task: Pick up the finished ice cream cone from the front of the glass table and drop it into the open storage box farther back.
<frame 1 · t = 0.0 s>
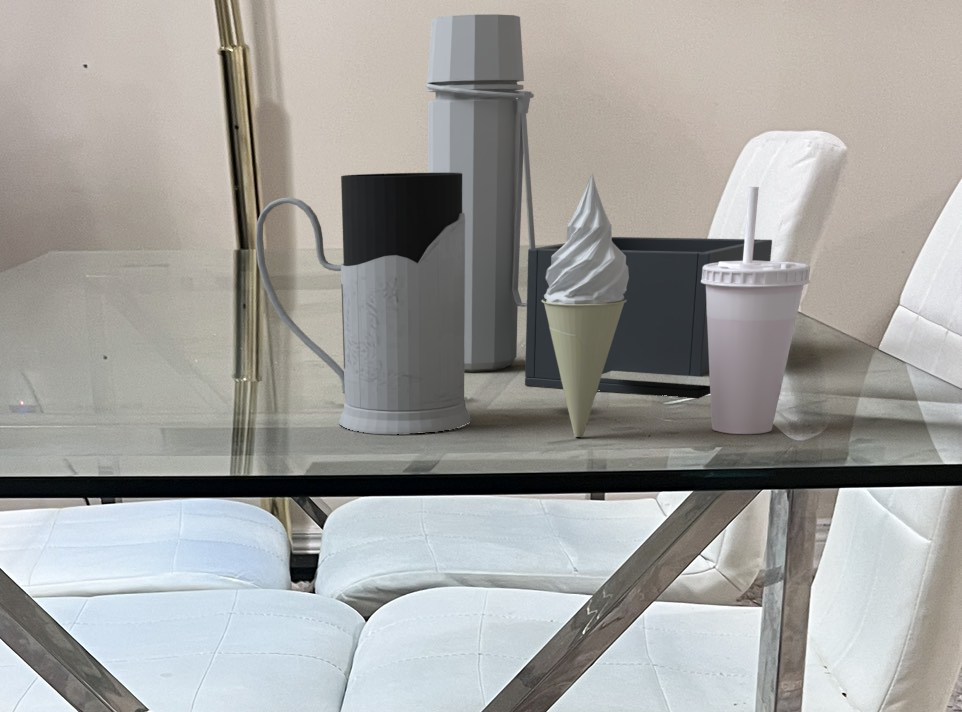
water bottle: (482, 369, 114), on the table
open storage box: (644, 378, 107), on the table
ice cream cone: (578, 440, 87), on the table
glass holder: (365, 423, 93), on the table
smoothie: (741, 431, 88), on the table
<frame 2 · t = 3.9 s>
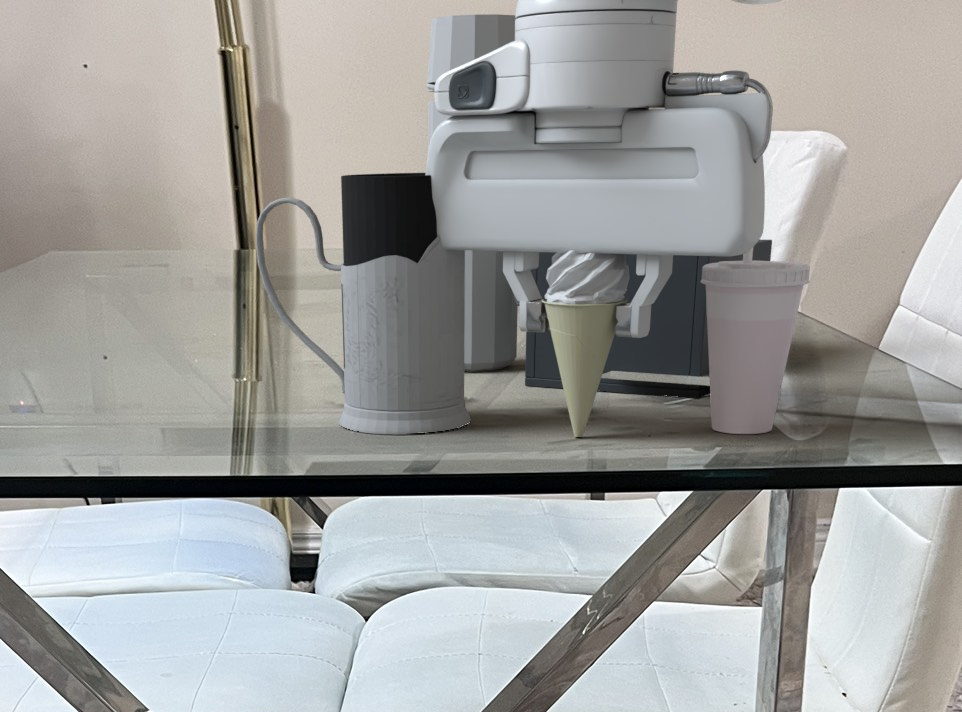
hand: (582, 333, 84), 6 cm above the table, tool pointing down, fingers closed on ice cream cone, 5 cm apart
ice cream cone: (578, 440, 87), on the table, touching gripper
everything else where it was.
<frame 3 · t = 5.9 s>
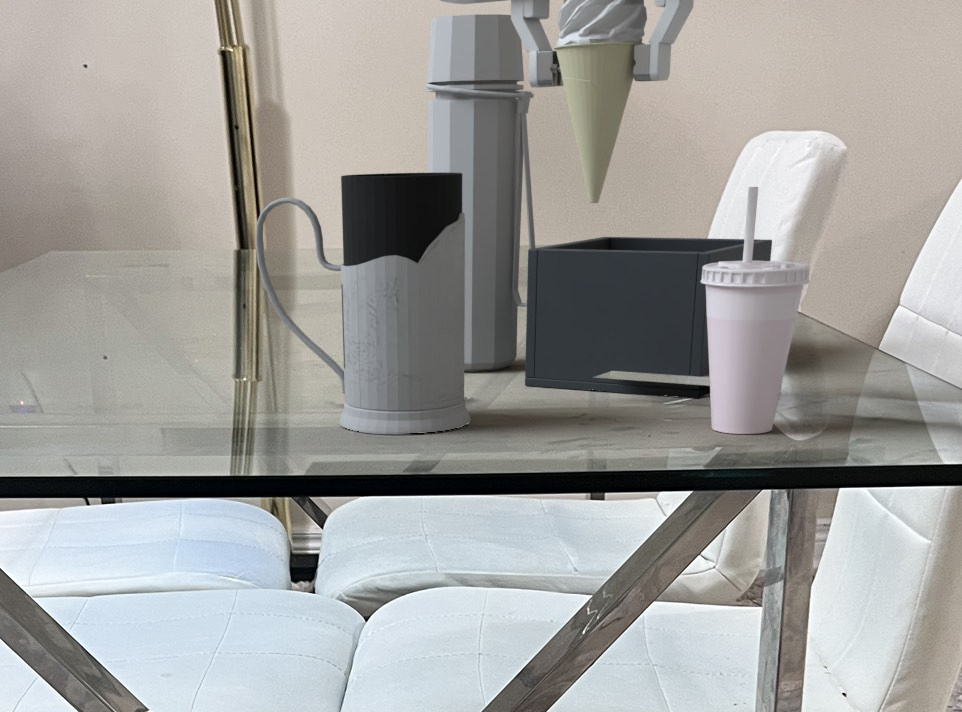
hand: (597, 84, 78), 20 cm above the table, tool pointing down, fingers closed on ice cream cone, 5 cm apart
ice cream cone: (594, 206, 81), point 13 cm above the table, touching gripper
everything else where it was.
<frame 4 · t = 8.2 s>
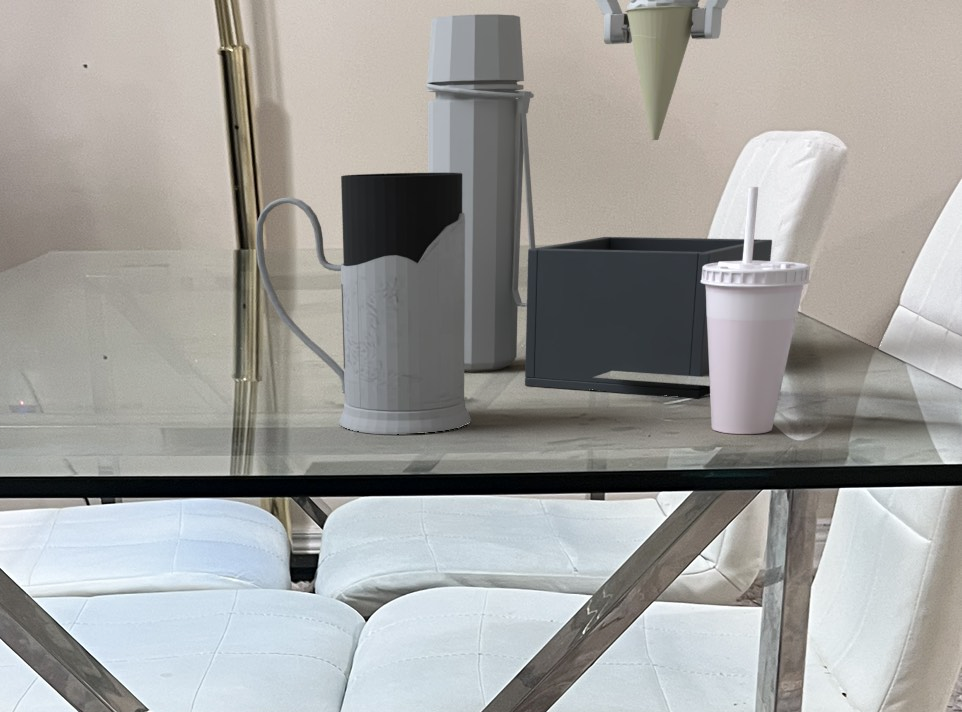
hand: (660, 41, 96), 23 cm above the table, tool pointing down, fingers closed on ice cream cone, 5 cm apart
ice cream cone: (654, 143, 98), point 16 cm above the table, touching gripper
everything else where it was.
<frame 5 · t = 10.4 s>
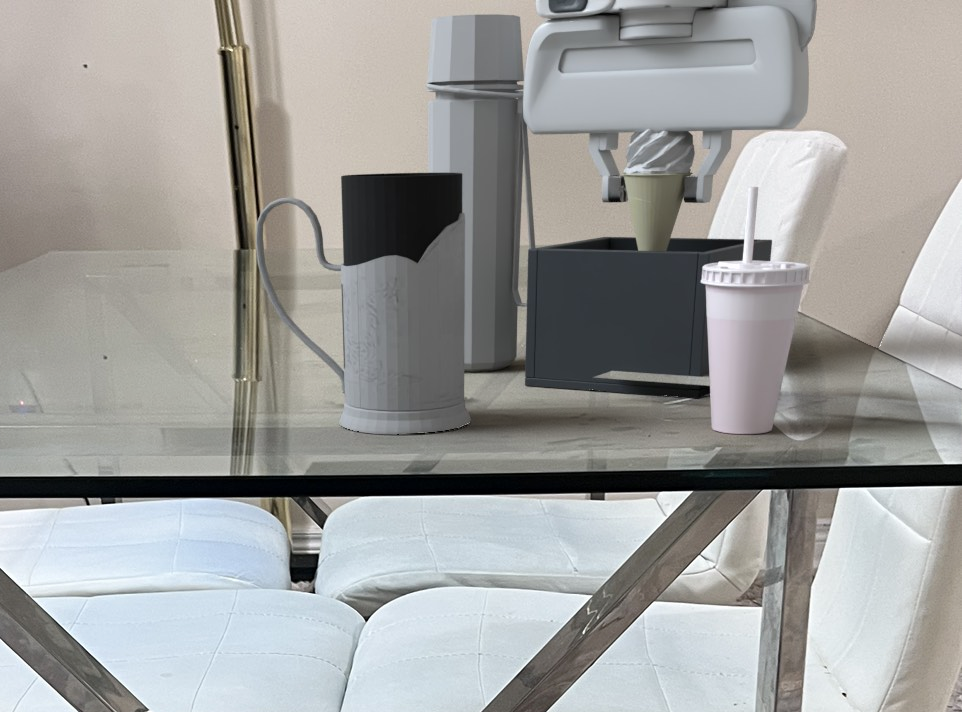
hand: (654, 202, 101), 12 cm above the table, tool pointing down, fingers closed on ice cream cone, 5 cm apart
ice cream cone: (649, 294, 104), point 6 cm above the table, touching gripper
everything else where it was.
when the fingers open (7 cm above the table, at t = 12.4 s): ice cream cone stays where it is, resting on open storage box.
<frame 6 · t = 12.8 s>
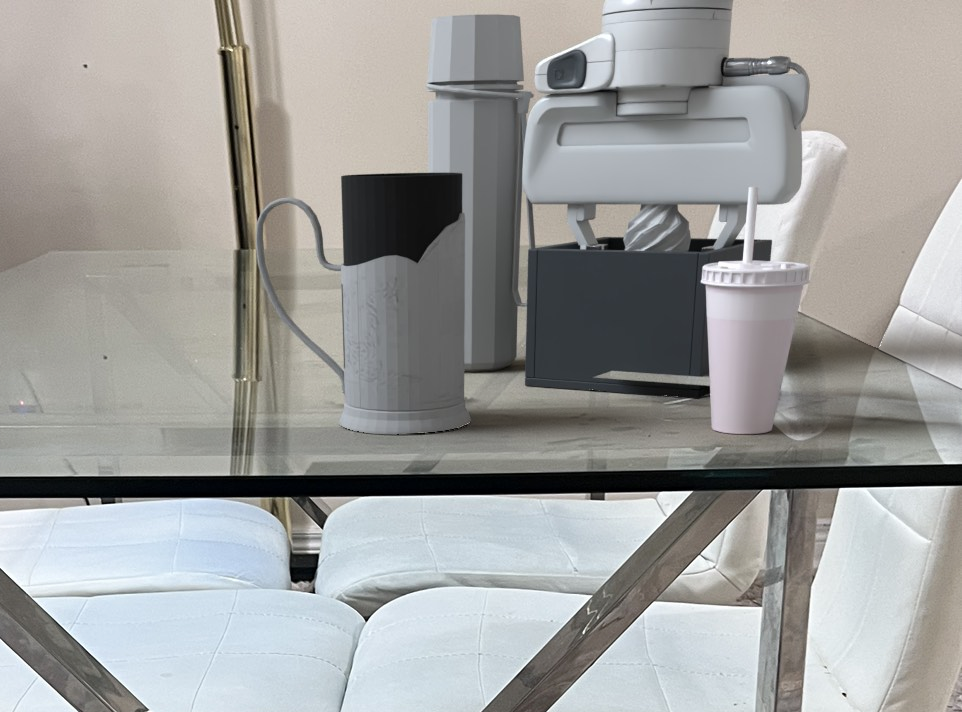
hand: (652, 271, 103), 8 cm above the table, tool pointing down, fingers open, 8 cm apart
ice cream cone: (647, 373, 106), resting on open storage box
everything else where it was.
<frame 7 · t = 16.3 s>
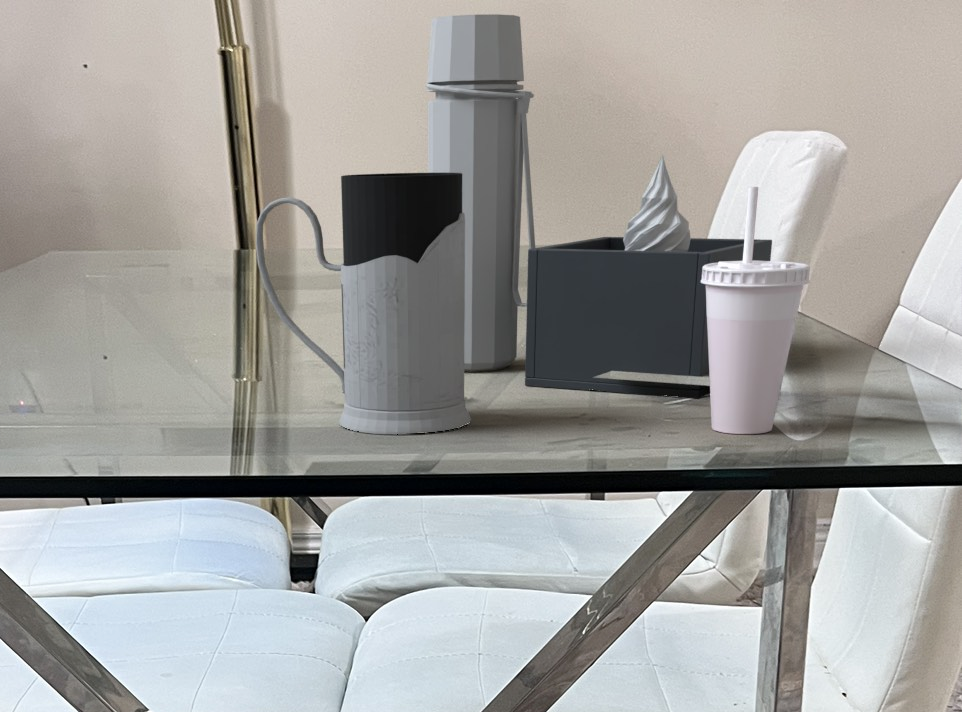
nothing on the table moved.
at the end: ice cream cone inside the target area in the open storage box (0.2 cm from its centre), point 0.4 cm above the open storage box's base; the gripper is holding nothing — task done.
